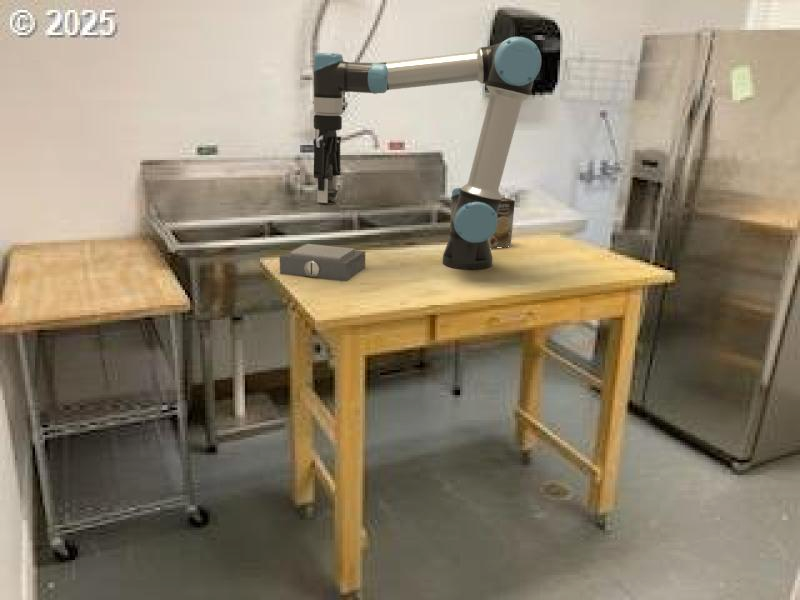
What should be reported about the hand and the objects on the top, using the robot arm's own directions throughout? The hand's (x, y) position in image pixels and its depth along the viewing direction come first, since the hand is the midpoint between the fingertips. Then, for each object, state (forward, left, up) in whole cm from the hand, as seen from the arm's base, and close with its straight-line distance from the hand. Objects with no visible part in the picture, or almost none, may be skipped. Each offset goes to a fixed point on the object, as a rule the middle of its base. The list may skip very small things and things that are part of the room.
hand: (327, 200), depth 186 cm
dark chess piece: (0, 0, -1) cm, 1 cm away
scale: (+1, 0, -20) cm, 20 cm away
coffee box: (-40, -50, -21) cm, 67 cm away
